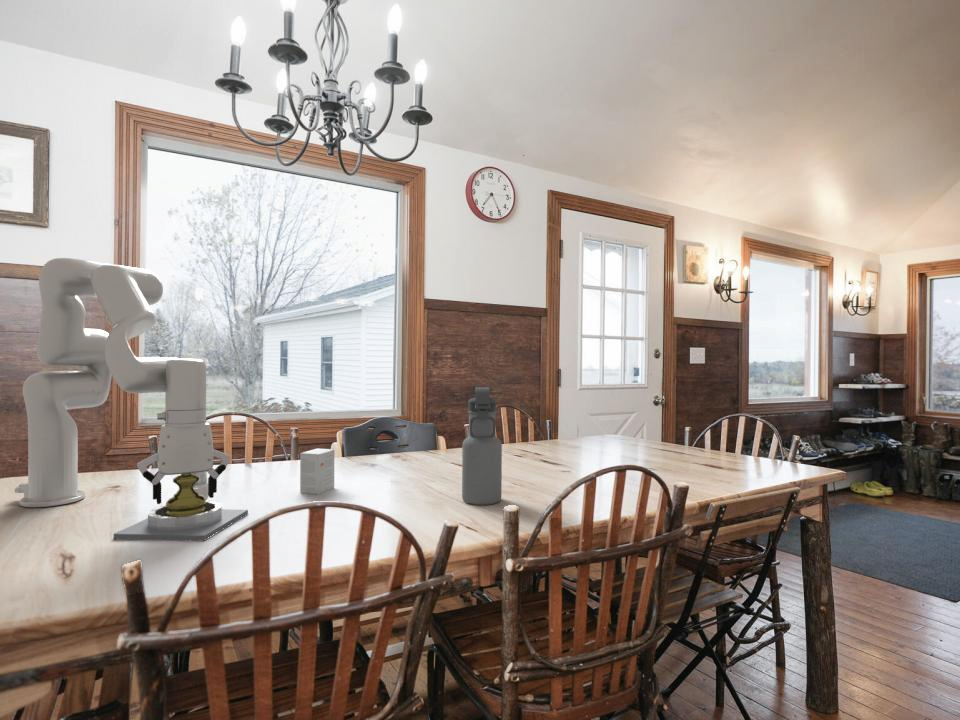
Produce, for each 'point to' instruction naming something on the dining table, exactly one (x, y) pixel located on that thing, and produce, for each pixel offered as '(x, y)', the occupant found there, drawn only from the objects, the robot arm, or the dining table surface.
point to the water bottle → (482, 453)
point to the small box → (316, 471)
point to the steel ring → (184, 518)
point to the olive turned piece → (185, 497)
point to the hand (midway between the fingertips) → (185, 499)
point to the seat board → (201, 533)
